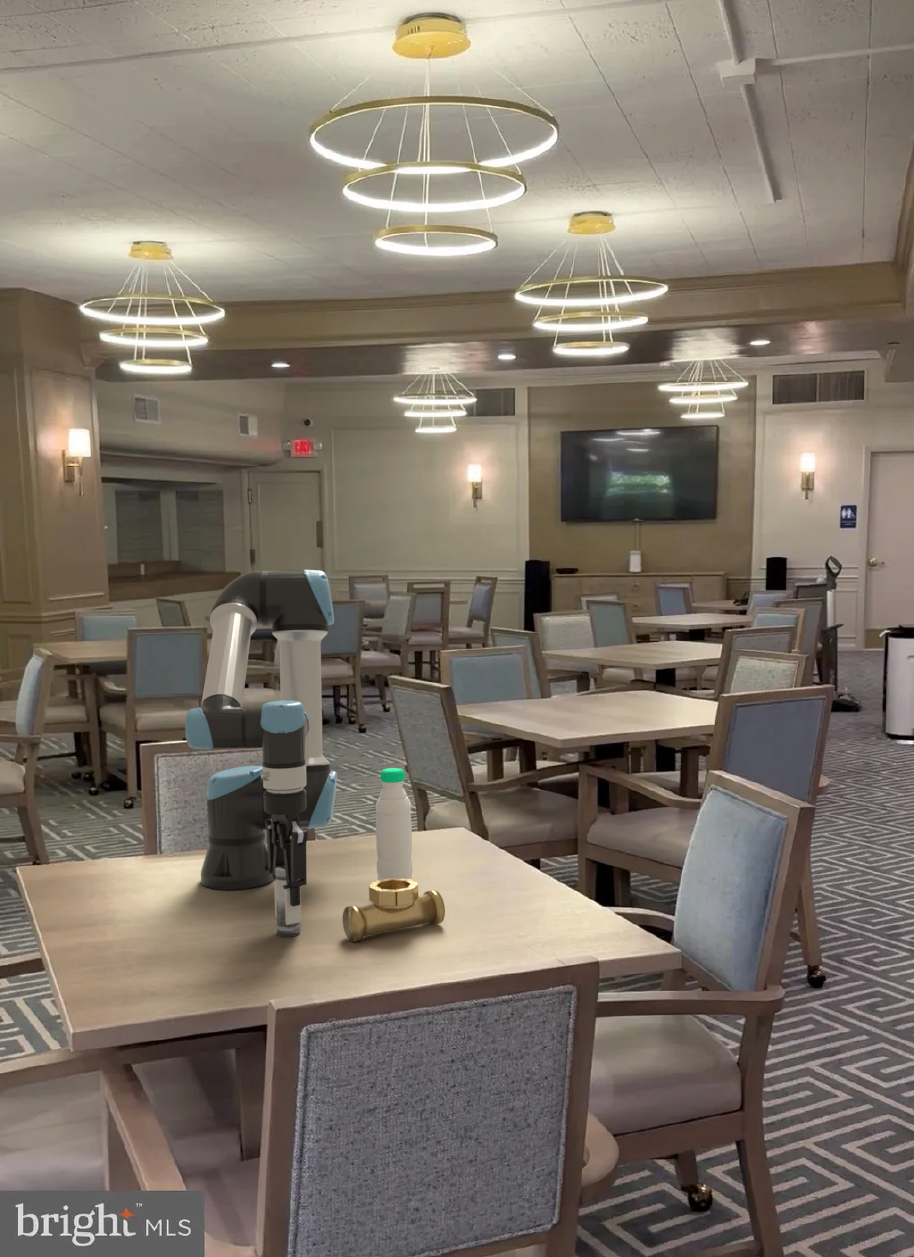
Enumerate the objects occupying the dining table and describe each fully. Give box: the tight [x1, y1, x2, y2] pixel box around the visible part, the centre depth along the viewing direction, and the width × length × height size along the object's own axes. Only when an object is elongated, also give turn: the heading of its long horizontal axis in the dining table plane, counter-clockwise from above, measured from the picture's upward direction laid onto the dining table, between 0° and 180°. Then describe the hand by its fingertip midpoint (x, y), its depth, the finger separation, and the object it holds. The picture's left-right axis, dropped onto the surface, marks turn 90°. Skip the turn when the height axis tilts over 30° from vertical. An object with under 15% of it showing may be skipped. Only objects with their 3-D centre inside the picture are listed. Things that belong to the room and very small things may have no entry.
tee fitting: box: [342, 878, 446, 943], centre depth 202 cm, size 17×8×8 cm, turn 122°
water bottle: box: [375, 767, 413, 881], centre depth 224 cm, size 7×7×25 cm
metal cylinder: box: [275, 864, 301, 938], centre depth 202 cm, size 4×4×12 cm
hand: (288, 919), depth 202 cm, fingers closed on metal cylinder, 4 cm apart
